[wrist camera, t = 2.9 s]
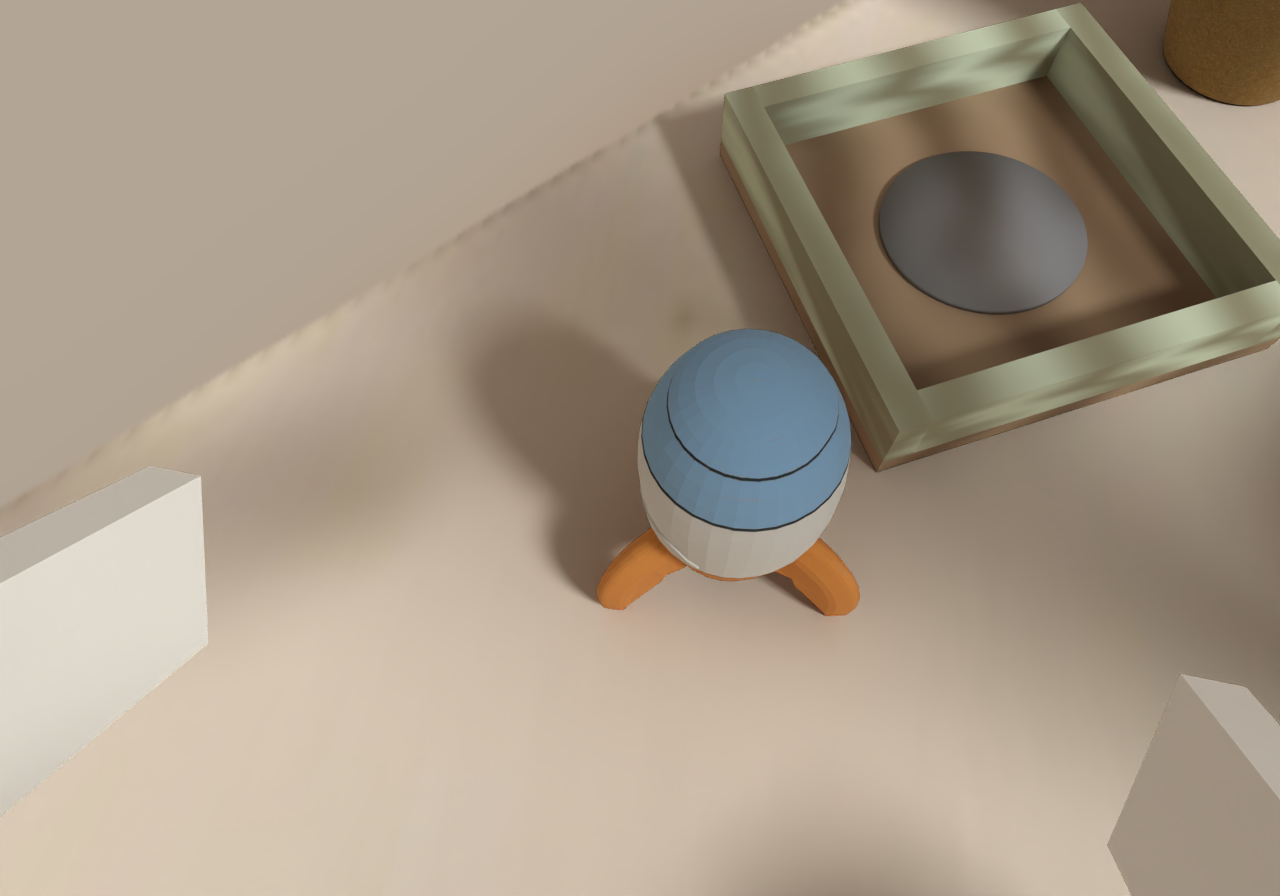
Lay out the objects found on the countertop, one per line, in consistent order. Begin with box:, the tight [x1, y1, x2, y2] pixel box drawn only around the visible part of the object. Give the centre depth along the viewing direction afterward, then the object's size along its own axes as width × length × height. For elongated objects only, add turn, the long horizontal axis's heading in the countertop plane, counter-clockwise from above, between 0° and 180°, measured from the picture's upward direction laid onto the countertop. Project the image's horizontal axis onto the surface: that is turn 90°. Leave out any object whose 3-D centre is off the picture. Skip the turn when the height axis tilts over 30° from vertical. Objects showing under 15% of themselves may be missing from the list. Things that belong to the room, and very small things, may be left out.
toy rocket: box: [597, 329, 860, 616], centre depth 31 cm, size 10×11×15 cm
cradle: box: [720, 3, 1280, 472], centre depth 40 cm, size 20×20×4 cm
